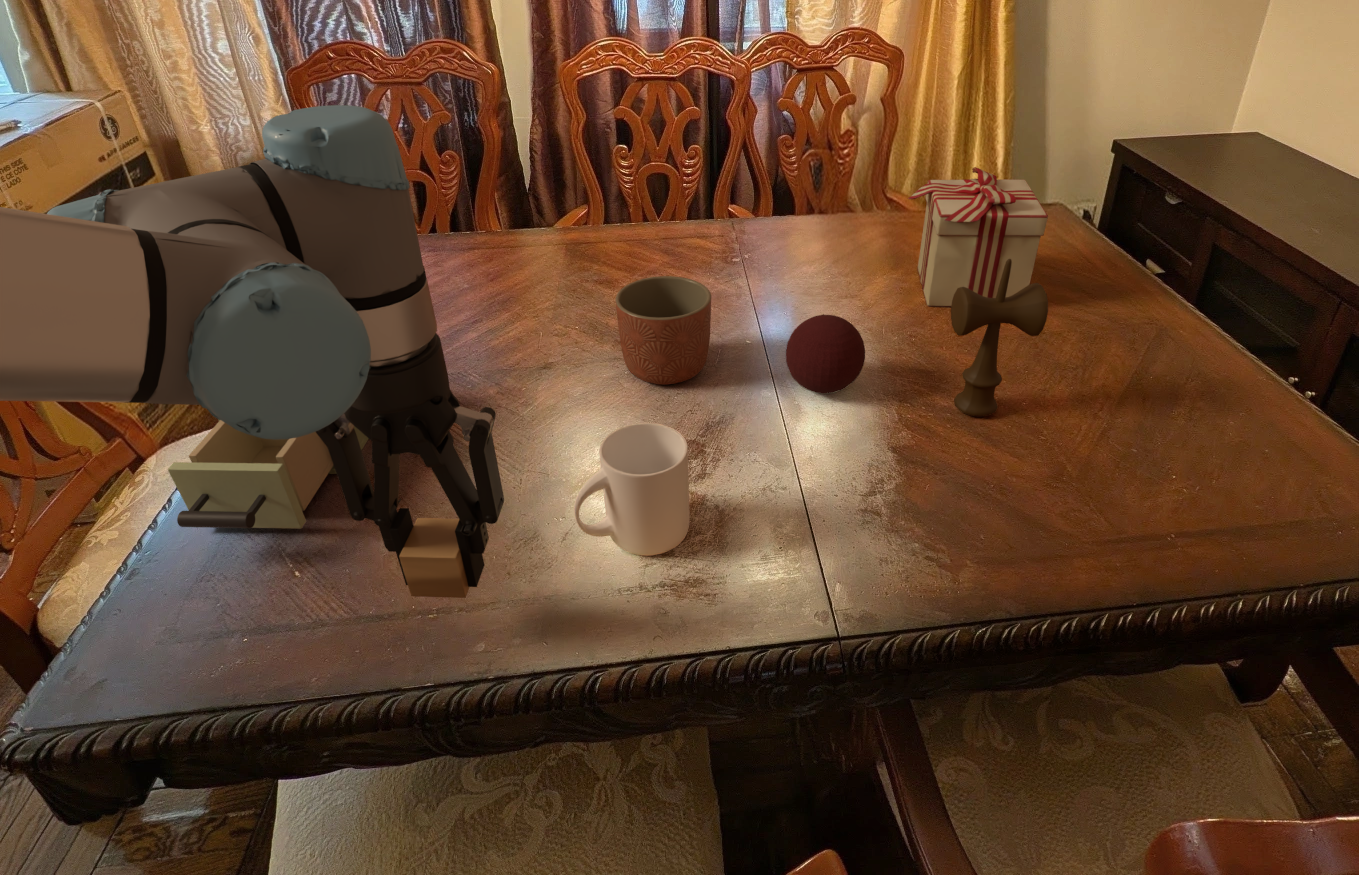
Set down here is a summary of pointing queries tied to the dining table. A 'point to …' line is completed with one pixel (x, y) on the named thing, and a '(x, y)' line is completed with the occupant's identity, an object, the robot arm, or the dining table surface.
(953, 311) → the kendama
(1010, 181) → the gift box
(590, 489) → the mug
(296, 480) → the drawer
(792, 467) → the dining table surface
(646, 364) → the planter
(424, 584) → the block
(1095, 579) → the dining table surface
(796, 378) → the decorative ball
